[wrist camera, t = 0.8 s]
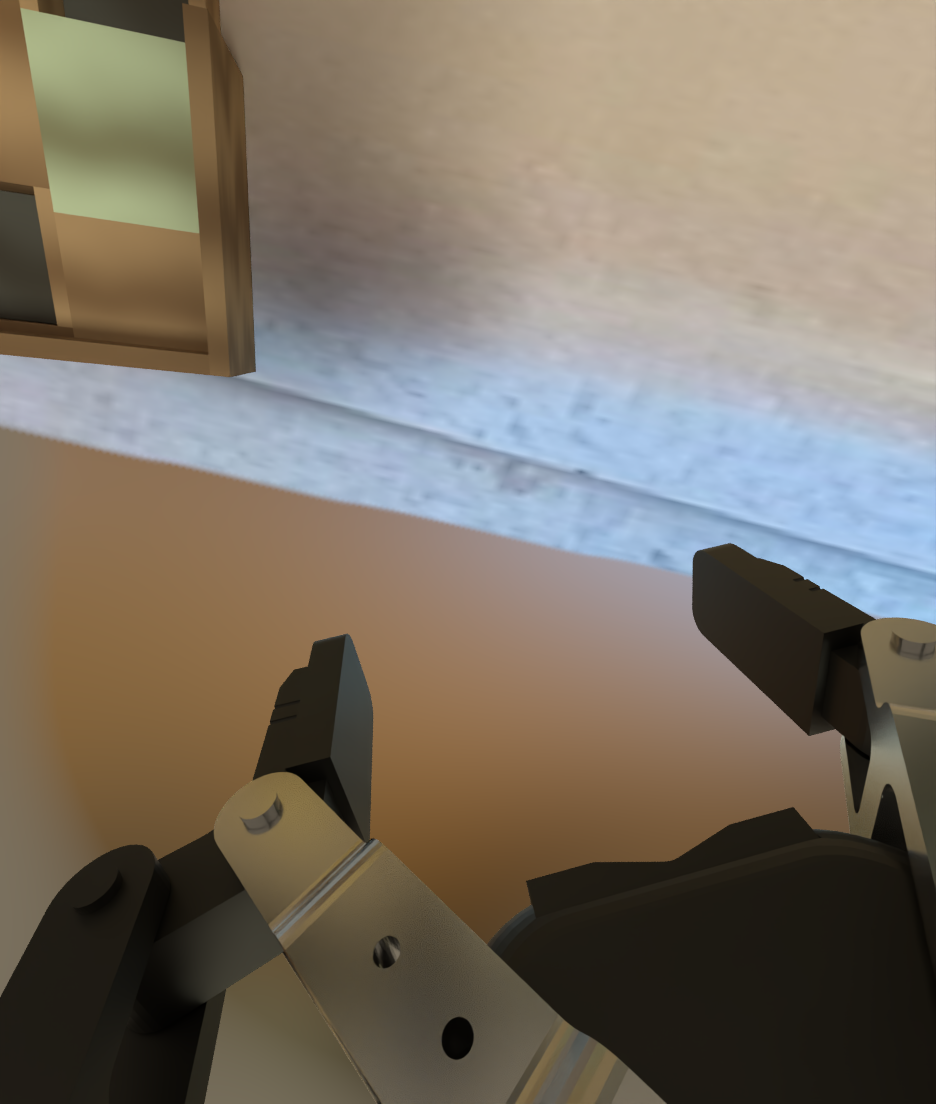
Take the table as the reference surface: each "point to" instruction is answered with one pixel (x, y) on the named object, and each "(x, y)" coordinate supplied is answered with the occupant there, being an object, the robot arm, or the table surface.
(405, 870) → the robot arm
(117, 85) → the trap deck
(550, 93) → the table surface
